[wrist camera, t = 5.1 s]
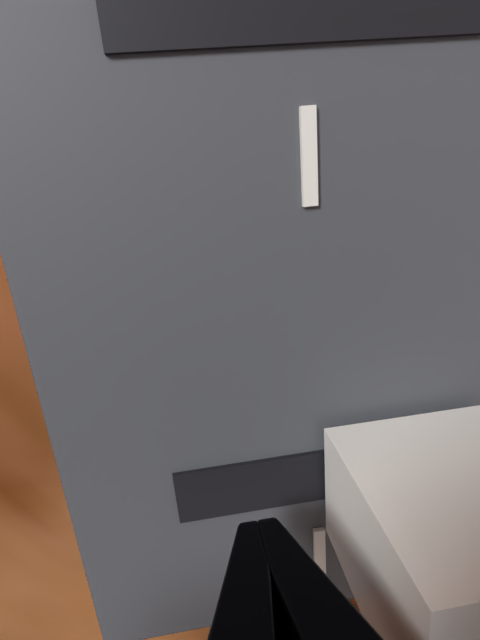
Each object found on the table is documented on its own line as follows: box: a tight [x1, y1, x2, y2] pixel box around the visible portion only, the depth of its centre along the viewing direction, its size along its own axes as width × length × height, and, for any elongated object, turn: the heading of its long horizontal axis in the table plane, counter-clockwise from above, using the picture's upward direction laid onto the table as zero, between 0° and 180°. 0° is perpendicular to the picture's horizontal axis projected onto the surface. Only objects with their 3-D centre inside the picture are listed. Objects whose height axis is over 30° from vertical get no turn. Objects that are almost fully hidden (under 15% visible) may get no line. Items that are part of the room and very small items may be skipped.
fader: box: [324, 405, 480, 640], centre depth 8 cm, size 3×4×4 cm
